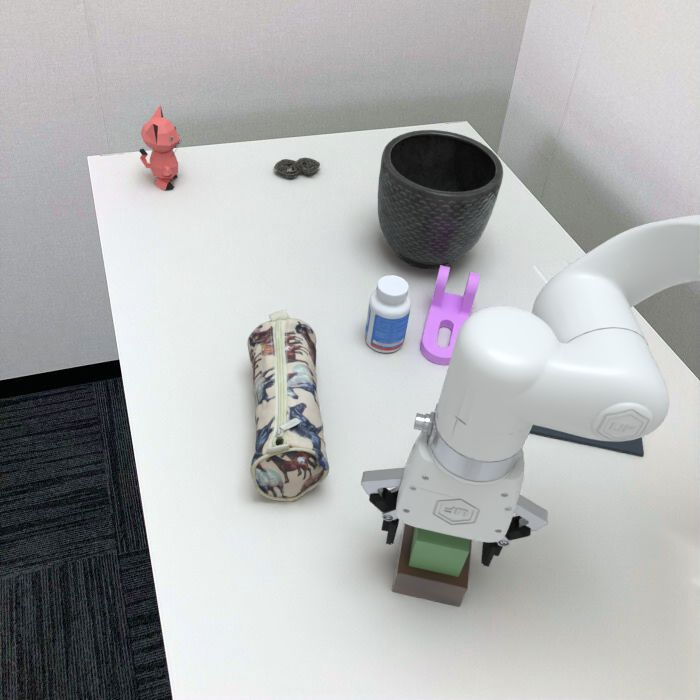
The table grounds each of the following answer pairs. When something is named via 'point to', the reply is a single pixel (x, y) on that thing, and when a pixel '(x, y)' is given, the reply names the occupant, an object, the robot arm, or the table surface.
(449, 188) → the planter
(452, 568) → the green cube
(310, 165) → the corroded twin loop
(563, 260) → the table surface
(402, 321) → the pill bottle
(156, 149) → the cat figurine
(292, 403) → the pencil case
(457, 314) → the bracket
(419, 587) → the walnut base block
